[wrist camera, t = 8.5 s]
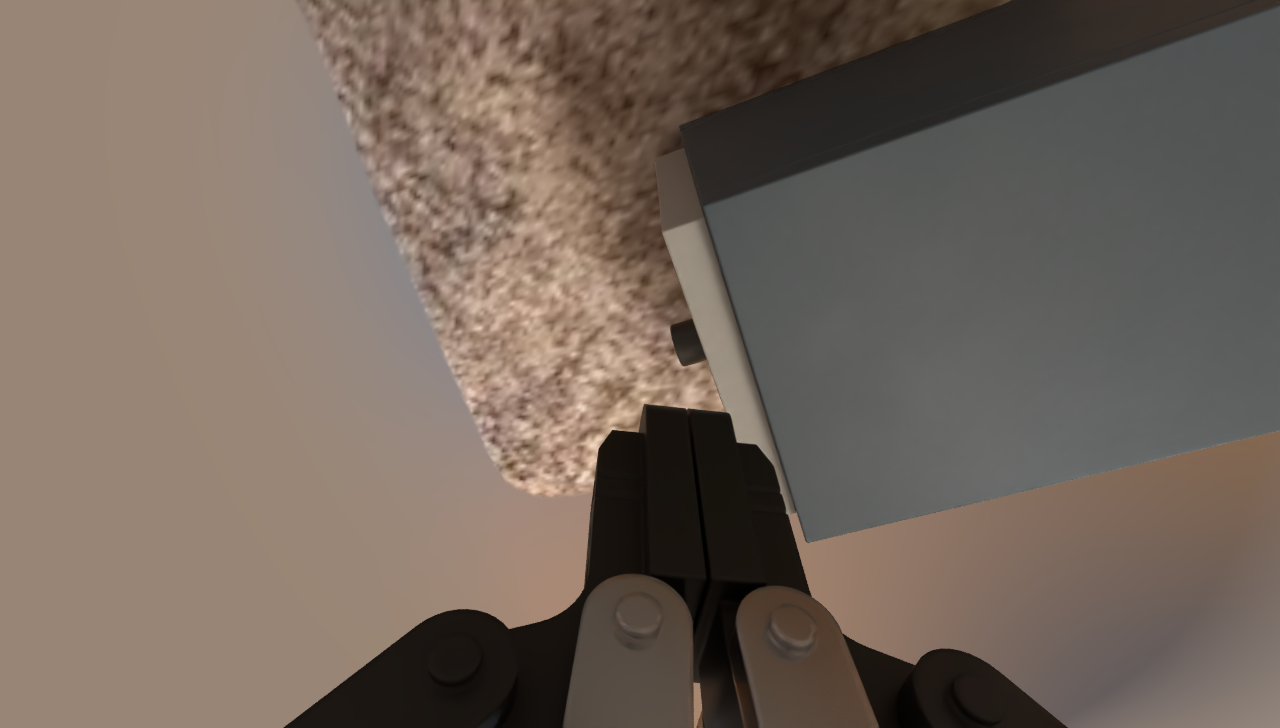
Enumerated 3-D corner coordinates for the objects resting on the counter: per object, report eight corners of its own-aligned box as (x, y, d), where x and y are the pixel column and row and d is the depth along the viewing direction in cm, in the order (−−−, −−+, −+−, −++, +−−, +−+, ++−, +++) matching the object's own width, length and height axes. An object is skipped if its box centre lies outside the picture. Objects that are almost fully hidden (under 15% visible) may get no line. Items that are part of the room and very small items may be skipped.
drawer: (709, 402, 28) (731, 529, 22) (623, 170, 23) (618, 246, 16) (1041, 306, 26) (1180, 418, 19) (1039, 16, 20) (1237, 33, 13)
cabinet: (759, 387, 29) (806, 544, 21) (678, 125, 23) (701, 205, 15) (1085, 293, 26) (1284, 430, 18) (1097, -32, 20) (1410, -42, 12)
